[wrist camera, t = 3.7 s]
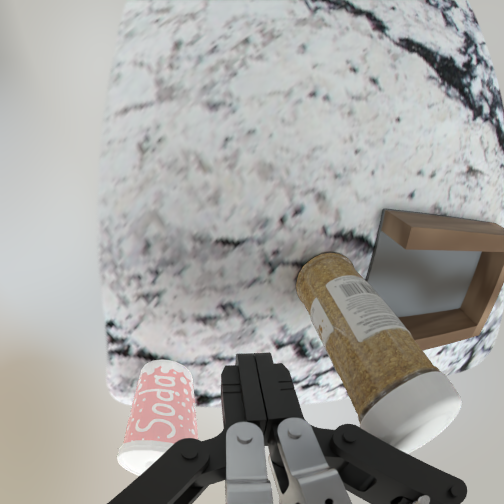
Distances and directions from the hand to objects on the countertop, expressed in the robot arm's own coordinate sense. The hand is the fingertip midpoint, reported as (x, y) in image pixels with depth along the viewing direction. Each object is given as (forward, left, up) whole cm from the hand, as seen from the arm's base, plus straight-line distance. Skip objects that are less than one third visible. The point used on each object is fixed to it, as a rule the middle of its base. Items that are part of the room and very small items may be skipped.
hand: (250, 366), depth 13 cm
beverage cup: (+10, -6, -8) cm, 14 cm away
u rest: (0, +16, -8) cm, 18 cm away
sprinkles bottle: (0, +6, -8) cm, 10 cm away
